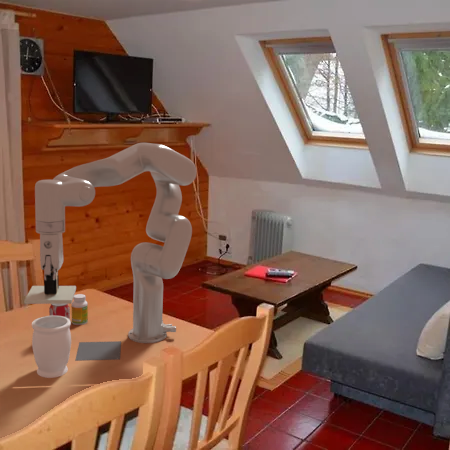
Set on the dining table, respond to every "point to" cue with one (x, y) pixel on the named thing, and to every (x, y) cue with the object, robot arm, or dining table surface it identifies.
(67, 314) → the beverage can
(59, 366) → the jar
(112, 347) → the mat
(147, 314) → the robot arm
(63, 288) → the lid
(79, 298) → the supplement bottle
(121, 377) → the dining table surface
